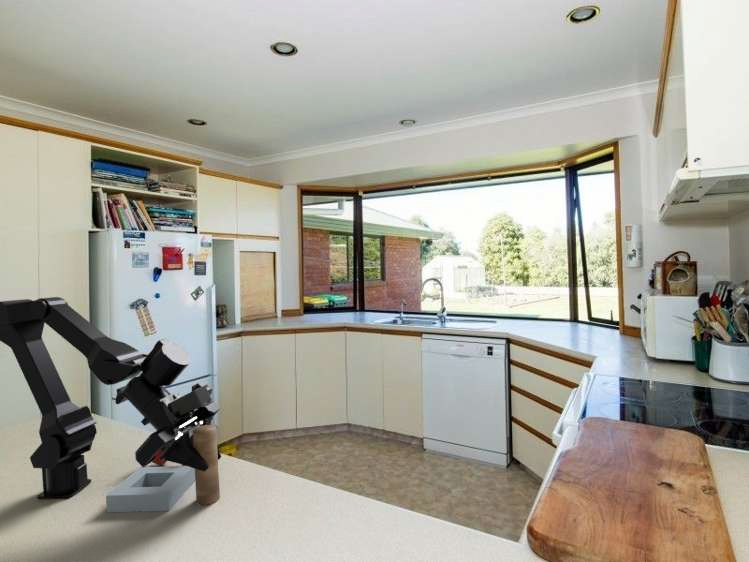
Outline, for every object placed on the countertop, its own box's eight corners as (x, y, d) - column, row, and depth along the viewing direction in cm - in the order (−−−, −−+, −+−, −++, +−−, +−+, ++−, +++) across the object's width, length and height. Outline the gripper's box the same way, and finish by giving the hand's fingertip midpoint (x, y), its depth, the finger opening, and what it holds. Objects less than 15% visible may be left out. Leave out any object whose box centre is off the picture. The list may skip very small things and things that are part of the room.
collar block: (106, 512, 79) (105, 495, 79) (140, 482, 90) (139, 467, 90) (169, 510, 79) (168, 493, 78) (195, 480, 90) (194, 465, 89)
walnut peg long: (192, 505, 80) (188, 433, 80) (201, 494, 84) (198, 425, 84) (215, 504, 80) (211, 432, 79) (223, 493, 84) (219, 424, 83)
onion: (164, 472, 94) (162, 434, 94) (140, 470, 95) (138, 433, 95) (181, 460, 99) (179, 424, 99) (158, 458, 101) (156, 423, 100)
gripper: (147, 386, 73) (213, 456, 71) (209, 361, 91) (263, 416, 89) (107, 433, 74) (171, 502, 73) (175, 399, 93) (228, 453, 91)
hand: (213, 464), depth 81 cm, fingers closed on walnut peg long, 4 cm apart
